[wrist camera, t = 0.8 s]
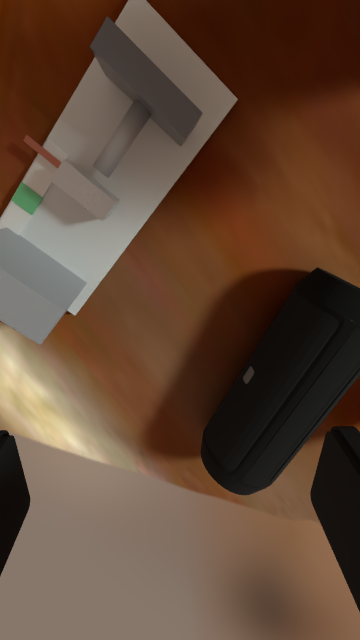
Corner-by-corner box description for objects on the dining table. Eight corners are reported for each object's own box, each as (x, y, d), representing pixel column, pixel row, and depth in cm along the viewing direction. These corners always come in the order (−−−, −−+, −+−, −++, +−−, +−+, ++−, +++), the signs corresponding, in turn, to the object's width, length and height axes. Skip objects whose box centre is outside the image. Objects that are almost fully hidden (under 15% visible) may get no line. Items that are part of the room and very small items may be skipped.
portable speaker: (294, 254, 34) (341, 281, 25) (365, 290, 36) (433, 327, 27) (191, 424, 43) (198, 489, 34) (253, 445, 45) (275, 512, 36)
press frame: (136, -5, 25) (121, -96, 17) (235, 102, 28) (264, 69, 20) (-15, 250, 32) (-77, 273, 24) (77, 312, 36) (50, 351, 27)
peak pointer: (32, 127, 27) (17, 121, 24) (120, 200, 29) (115, 202, 26) (21, 148, 27) (4, 144, 24) (107, 217, 30) (102, 221, 27)
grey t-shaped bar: (119, 52, 25) (107, 16, 20) (195, 126, 28) (202, 112, 22) (66, 139, 28) (41, 129, 22) (140, 202, 30) (134, 206, 24)
